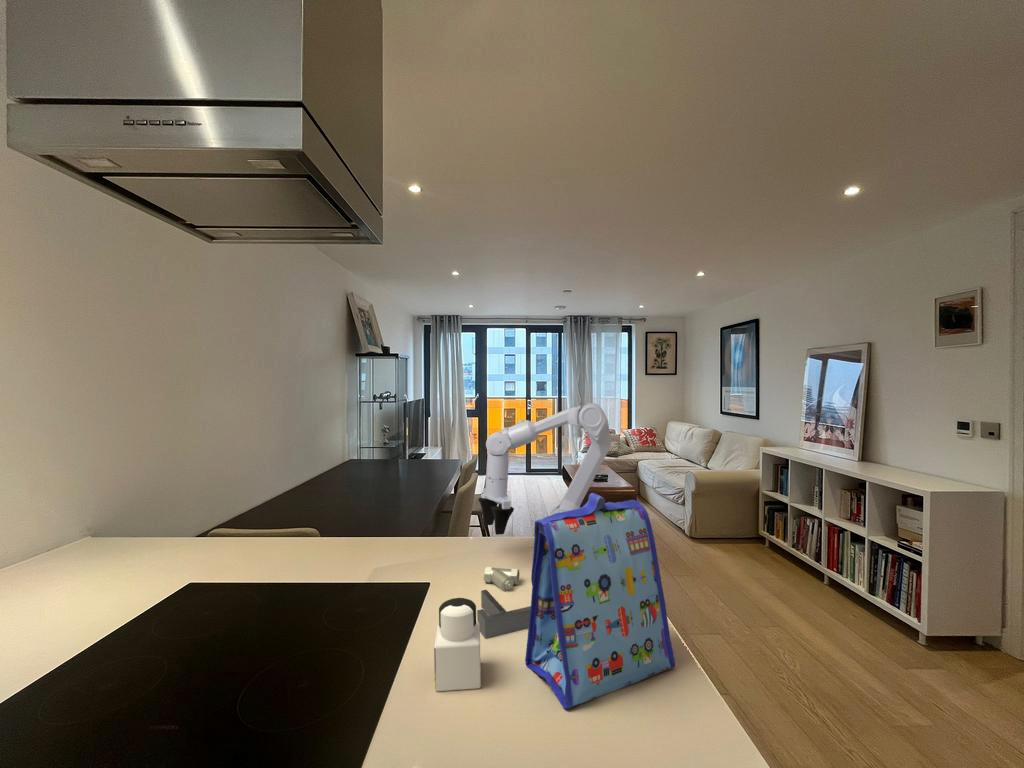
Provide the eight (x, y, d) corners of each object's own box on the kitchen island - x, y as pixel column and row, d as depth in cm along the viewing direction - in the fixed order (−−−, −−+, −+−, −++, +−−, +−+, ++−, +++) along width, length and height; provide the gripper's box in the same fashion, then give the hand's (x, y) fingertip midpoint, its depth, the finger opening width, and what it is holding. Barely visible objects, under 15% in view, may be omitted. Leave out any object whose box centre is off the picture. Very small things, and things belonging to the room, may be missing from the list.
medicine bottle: (438, 665, 78) (437, 594, 79) (480, 662, 79) (479, 592, 79) (434, 692, 71) (433, 614, 71) (480, 689, 72) (479, 612, 72)
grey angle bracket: (555, 590, 107) (554, 575, 107) (584, 613, 95) (583, 596, 96) (464, 610, 98) (464, 594, 98) (485, 638, 86) (484, 620, 86)
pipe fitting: (514, 595, 106) (519, 581, 112) (513, 579, 106) (519, 565, 112) (480, 592, 107) (488, 579, 114) (480, 576, 107) (487, 563, 114)
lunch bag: (622, 633, 88) (620, 481, 88) (678, 671, 76) (674, 495, 76) (522, 665, 78) (520, 495, 78) (568, 715, 66) (564, 513, 66)
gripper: (473, 472, 126) (470, 522, 126) (493, 484, 112) (490, 539, 112) (497, 471, 129) (494, 520, 129) (519, 483, 115) (516, 537, 115)
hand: (494, 529), depth 121 cm, fingers open, 7 cm apart
